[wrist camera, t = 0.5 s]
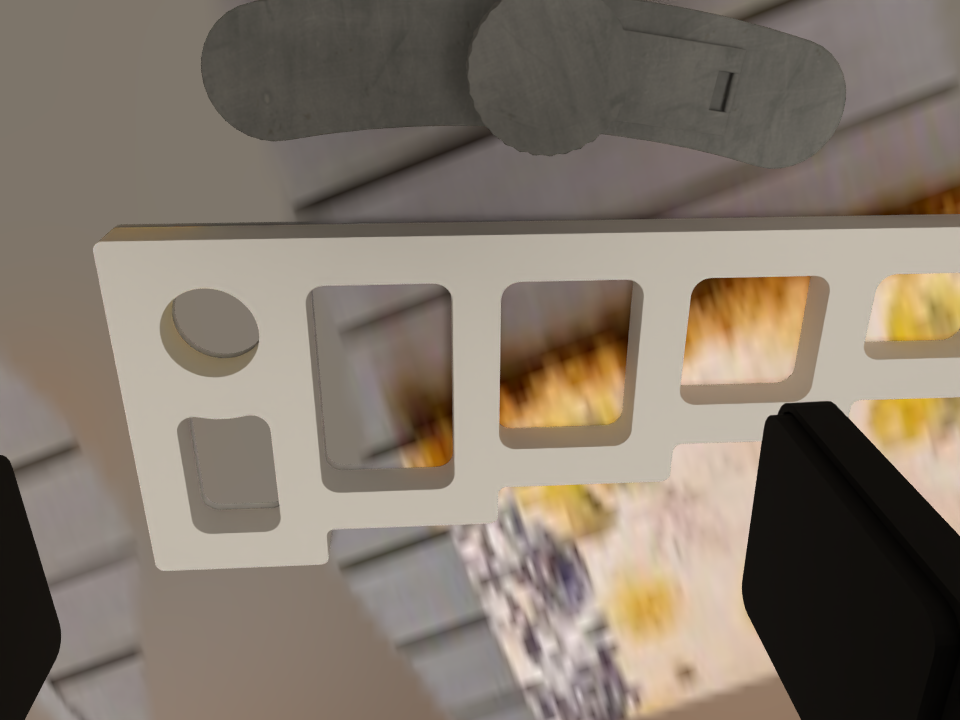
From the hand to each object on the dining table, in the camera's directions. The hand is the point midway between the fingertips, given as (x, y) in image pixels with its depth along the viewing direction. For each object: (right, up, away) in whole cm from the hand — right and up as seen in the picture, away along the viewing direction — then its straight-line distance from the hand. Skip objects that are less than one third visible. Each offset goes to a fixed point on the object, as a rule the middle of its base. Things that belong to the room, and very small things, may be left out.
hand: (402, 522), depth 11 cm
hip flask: (+1, +17, +26) cm, 31 cm away
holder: (+6, +1, +34) cm, 35 cm away
